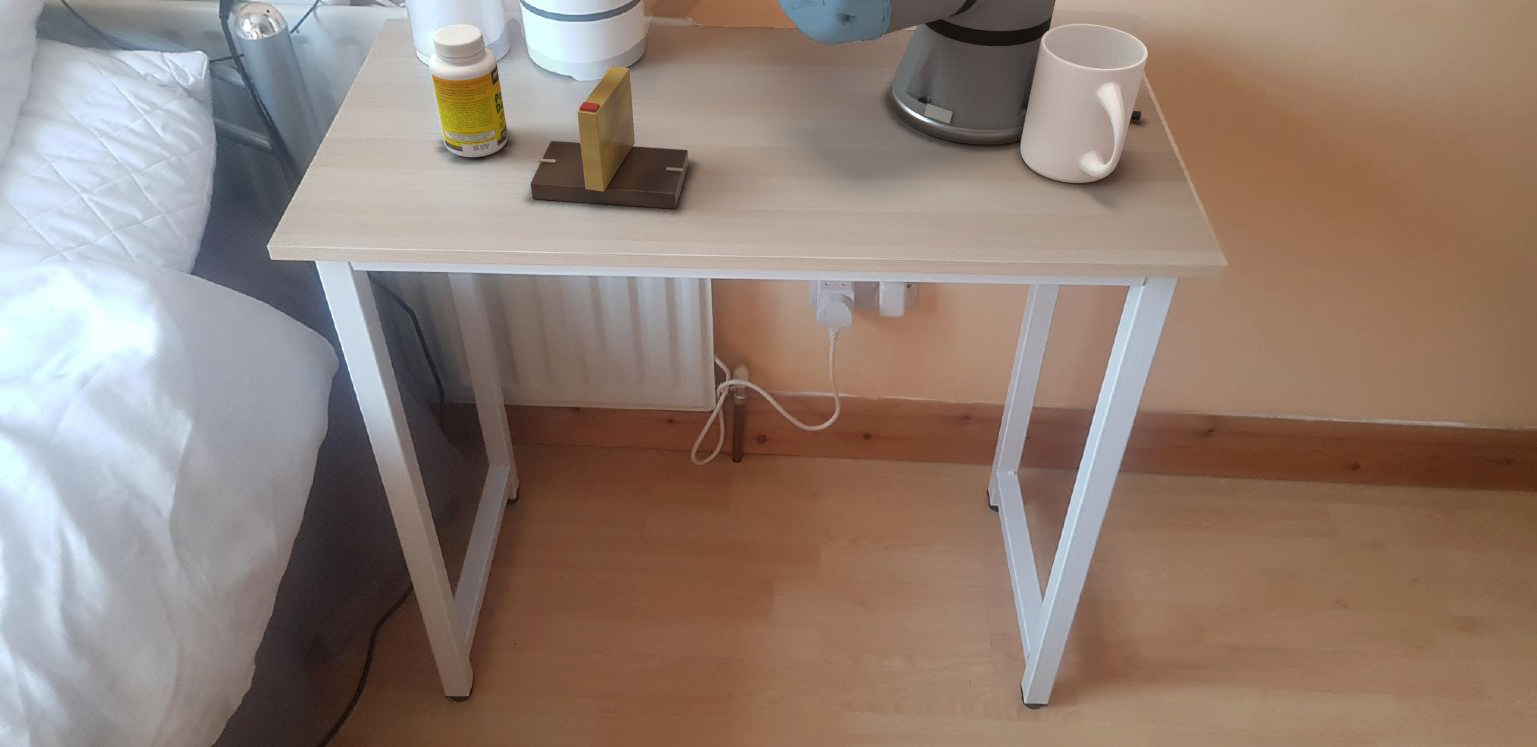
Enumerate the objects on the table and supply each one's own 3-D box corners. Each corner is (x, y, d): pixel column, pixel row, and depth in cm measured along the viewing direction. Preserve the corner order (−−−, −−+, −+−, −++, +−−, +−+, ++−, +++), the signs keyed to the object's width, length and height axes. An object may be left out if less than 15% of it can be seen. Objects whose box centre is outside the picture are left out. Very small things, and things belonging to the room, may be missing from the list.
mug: (1052, 212, 90) (1080, 93, 82) (1005, 138, 98) (1026, 26, 91) (1149, 204, 91) (1185, 86, 84) (1094, 132, 100) (1122, 20, 92)
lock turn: (617, 140, 94) (611, 62, 89) (635, 143, 93) (629, 65, 89) (585, 189, 88) (576, 108, 83) (603, 192, 88) (596, 111, 83)
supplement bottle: (514, 154, 95) (497, 43, 88) (449, 164, 93) (426, 53, 86) (503, 124, 99) (486, 16, 92) (440, 133, 97) (418, 24, 90)
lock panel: (689, 164, 94) (689, 148, 93) (677, 209, 89) (676, 192, 88) (551, 155, 95) (549, 138, 94) (531, 199, 89) (528, 181, 88)
